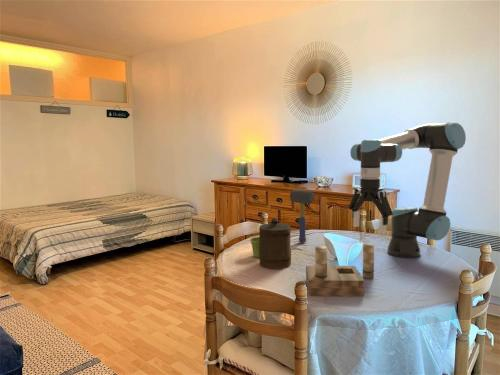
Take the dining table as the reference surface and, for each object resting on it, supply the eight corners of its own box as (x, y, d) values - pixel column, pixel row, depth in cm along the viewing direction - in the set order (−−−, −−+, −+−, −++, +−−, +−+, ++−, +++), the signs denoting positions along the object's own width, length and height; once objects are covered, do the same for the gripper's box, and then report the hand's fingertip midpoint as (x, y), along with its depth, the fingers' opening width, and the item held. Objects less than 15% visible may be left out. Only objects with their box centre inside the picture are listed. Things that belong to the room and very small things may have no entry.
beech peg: (372, 275, 158) (372, 243, 156) (375, 279, 154) (375, 246, 152) (361, 275, 159) (361, 243, 157) (363, 279, 154) (364, 246, 152)
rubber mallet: (315, 242, 210) (315, 189, 206) (309, 245, 204) (308, 191, 200) (296, 239, 217) (295, 188, 213) (289, 242, 211) (288, 190, 207)
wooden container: (297, 263, 177) (296, 217, 174) (278, 271, 166) (277, 223, 163) (272, 257, 186) (271, 213, 184) (253, 264, 175) (251, 219, 173)
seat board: (355, 279, 154) (355, 239, 151) (363, 296, 138) (364, 251, 136) (306, 279, 155) (305, 240, 153) (309, 295, 139) (308, 251, 137)
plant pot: (271, 257, 186) (271, 240, 185) (254, 260, 182) (254, 242, 181) (264, 252, 194) (264, 236, 193) (247, 254, 191) (247, 238, 190)
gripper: (340, 176, 159) (340, 225, 162) (390, 181, 138) (389, 237, 141) (352, 175, 163) (352, 222, 166) (403, 179, 142) (401, 234, 145)
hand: (369, 229), depth 153 cm, fingers open, 13 cm apart
